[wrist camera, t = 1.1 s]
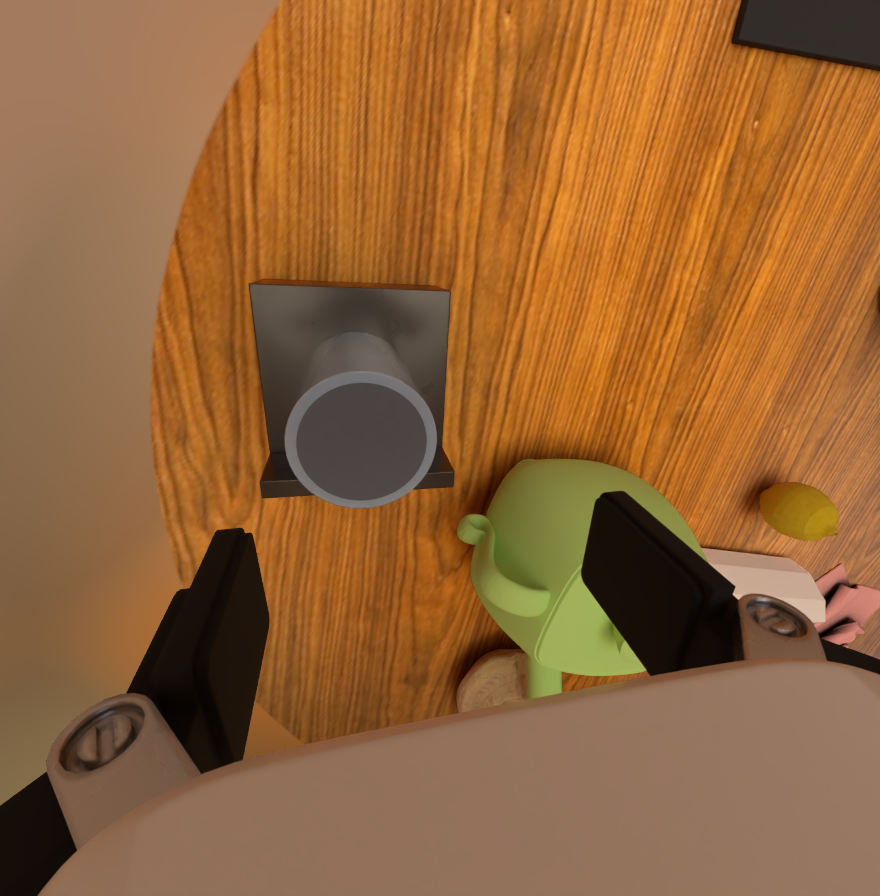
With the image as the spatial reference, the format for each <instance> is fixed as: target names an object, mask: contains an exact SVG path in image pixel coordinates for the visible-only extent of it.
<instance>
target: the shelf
mask: <svg viewBox="0 0 880 896" xmlns="http://www.w3.org/2000/svg"><path fill="white" fill-rule="evenodd" d="M249 292H250V299H251V307H252V315H253V323H254V331H255V339H256V347H257V354H258V362H259V370H260V378H261V386H262V394H263V402H264V410H265V417H266V425H267V433H268V441H269V449H270V455H269V458H268V461H267V463H266V466H265V469H264V472H263V474H262V477H261V480H260V488H261V495H262V498H277V497H294V496H310V495H314V494H313V493H311V492H310V491H309V490H308V489H307V488H305V486H304V485H303V484H302V483H301V482H300V481H299V480H298V478H297V477H296V476H295V474H294V473H293V471H292V469H291V467H290V465H289V462H288V459H287V456H286V451H285V440H284V437H285V429H286V425H287V421H288V418H289V415H290V412H291V409H292V406H293V403H294V400H295V397H296V394H297V391H298V388H299V385H300V382H301V379H302V376H303V373H304V370H305V367H306V364H307V362H308V360H309V358H310V356H311V355H312V353H313V352H314V350H315V349H316V348H317V347H318V346H319V345H320V344H321V343H322V342H324V341H325V340H327V339H328V338H330V337H333V336H335V335H338V334H341V333H345V332H365V333H369V334H372V335H375V336H378V337H380V338H382V339H383V340H385V341H386V342H388V343H389V344H390V345H391V346H392V347H394V348H395V350H396V351H397V352H398V353H399V355H400V356H401V358H402V359H403V361H404V363H405V365H406V367H407V368H408V370H409V372H410V374H411V376H412V378H413V379H414V381H415V383H416V385H417V387H418V389H419V390H420V392H421V394H422V396H423V398H424V400H425V401H426V403H427V405H428V407H429V409H430V411H431V413H432V415H433V418H434V422H435V425H436V432H437V445H436V451H435V455H434V459H433V461H432V464H431V466H430V468H429V470H428V472H427V473H426V475H425V476H424V477H423V479H422V480H421V481H420V482H419V484H418V485H417V486H416V487H415V488H413V489H429V488H446V487H453V485H454V470H453V468H452V466H451V464H450V462H449V460H448V458H447V456H446V454H445V452H444V450H443V448H442V437H443V419H444V401H445V384H446V366H447V348H448V331H449V313H450V295H451V292H450V291H449V290H446V289H443V288H440V287H437V286H430V285H405V284H381V283H356V282H331V281H307V280H282V279H262V280H259V281H255V282H253V283H249Z"/></svg>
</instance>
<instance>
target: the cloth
mask: <svg viewBox="0 0 880 896" xmlns="http://www.w3.org/2000/svg"><path fill="white" fill-rule="evenodd" d="M815 583H816V585H817V587H818V589H819V590H820V592H821V594H822V596H823V597H824V599H825V601H826V604H825V622H818V623H813V624H814V626H815V628H816V629H817V632H818V635H819V638H822V639H824V640H827V641H830V642H833V643H835V644H838V645H841V646H842V645H843V643H845V644H846V645H845V646H844V647H846V648H848V645H847V643H850V642H851V641H853V640H854V639H855V634H865V633H864V631H863V624H864V623H865V621H866V620H867V619H868V618H869V617H870V616H871V615H872V614H873V613H874V612H875V611H876V610H877V609H878V608H879V607H880V590H876V589H873V588H869V587H865V586H862V585H856V586H855V588H854V589H853V588H849V582H848V578H847V575H846V572H845V569H844V567H843V564H842V563H841V564H840V565H838V566H837V567H835V568H834V569H832V570H831V571H829V572H828V573H827V574H825V575H824V576H822V577H821V578H819V579H818V580H817V581H815Z"/></svg>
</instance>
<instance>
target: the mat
mask: <svg viewBox="0 0 880 896" xmlns="http://www.w3.org/2000/svg"><path fill="white" fill-rule="evenodd" d="M732 43H735V44H741V45H746V46H751V47H757V48H762V49H767V50H773V51H778V52H783V53H789V54H794V55H799V56H805V57H810V58H815V59H821V60H826V61H831V62H837V63H842V64H848V65H853V66H858V67H864V68H869V69H874V70H880V0H743V1H742V5H741V9H740V13H739V16H738V20H737V24H736V28H735V32H734V36H733V40H732Z"/></svg>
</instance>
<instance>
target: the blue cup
mask: <svg viewBox="0 0 880 896" xmlns="http://www.w3.org/2000/svg"><path fill="white" fill-rule="evenodd" d="M284 440H285V451H286V456H287V459H288V462H289V465H290V467H291V469H292V471H293V473H294V474H295V476H296V477H297V478H298V480H299V481H300V482H301V483H302V484H303V485H304V486H305V488H307V489H308V490H309V491H310V492H311V493H313V494H314V495H316V496H317V497H319V498H321V499H323V500H325V501H327V502H329V503H332V504H335V505H338V506H343V507H348V508H371V507H377V506H381V505H385V504H388V503H390V502H393V501H395V500H397V499H399V498H401V497H402V496H404V495H406V494H407V493H409V492H410V491H411V490H412V489H413V488H415V487H416V486H417V485H418V484H419V482H420V481H421V480H422V479H423V477H424V476H425V475H426V473H427V472H428V470H429V468H430V466H431V464H432V461H433V459H434V455H435V451H436V445H437V432H436V425H435V422H434V418H433V415H432V413H431V411H430V409H429V407H428V405H427V403H426V401H425V400H424V398H423V396H422V394H421V392H420V390H419V389H418V387H417V385H416V383H415V381H414V379H413V378H412V376H411V374H410V372H409V370H408V368H407V367H406V365H405V363H404V361H403V359H402V358H401V356H400V355H399V353H398V352H397V351H396V350H395V348H394V347H392V346H391V345H390V344H389V343H388V342H386V341H385V340H383V339H382V338H380V337H378V336H375V335H372V334H369V333H365V332H345V333H341V334H338V335H335V336H333V337H330V338H328V339H327V340H325V341H324V342H322V343H321V344H320V345H319V346H318V347H317V348H316V349H315V350H314V352H313V353H312V355H311V356H310V358H309V360H308V362H307V364H306V367H305V370H304V373H303V376H302V379H301V382H300V385H299V388H298V391H297V394H296V397H295V400H294V403H293V406H292V409H291V412H290V415H289V418H288V421H287V425H286V429H285V437H284Z"/></svg>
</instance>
